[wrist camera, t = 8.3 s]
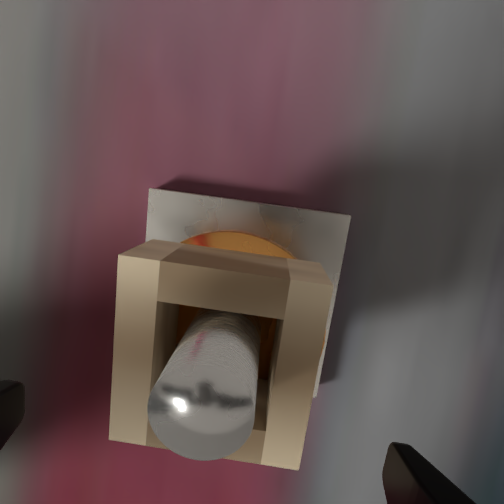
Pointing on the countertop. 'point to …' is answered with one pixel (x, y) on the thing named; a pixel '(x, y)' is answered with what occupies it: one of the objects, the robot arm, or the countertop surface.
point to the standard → (229, 317)
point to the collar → (225, 299)
